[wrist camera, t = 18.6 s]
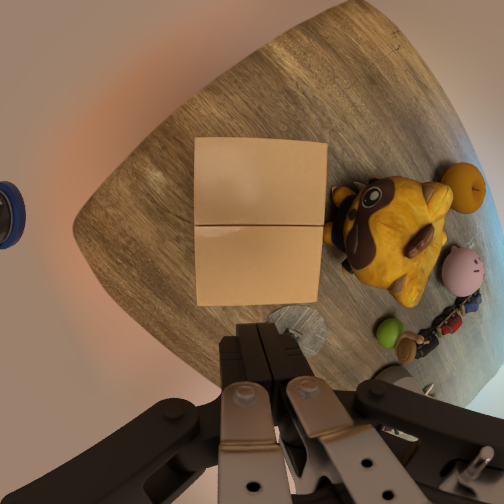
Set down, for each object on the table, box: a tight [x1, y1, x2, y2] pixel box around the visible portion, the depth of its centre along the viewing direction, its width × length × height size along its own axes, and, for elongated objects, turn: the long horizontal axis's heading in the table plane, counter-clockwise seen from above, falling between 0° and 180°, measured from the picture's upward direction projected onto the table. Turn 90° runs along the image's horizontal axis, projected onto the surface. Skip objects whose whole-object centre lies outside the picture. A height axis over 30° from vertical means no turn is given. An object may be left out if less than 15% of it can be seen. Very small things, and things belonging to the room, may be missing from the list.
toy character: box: [323, 176, 453, 308], centre depth 33 cm, size 17×15×18 cm
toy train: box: [414, 288, 481, 359], centre depth 47 cm, size 4×22×5 cm, turn 123°
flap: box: [194, 225, 323, 306], centre depth 29 cm, size 8×13×1 cm, turn 89°
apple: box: [440, 162, 486, 214], centre depth 37 cm, size 9×9×9 cm
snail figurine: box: [376, 318, 429, 364], centre depth 41 cm, size 5×6×12 cm
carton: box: [194, 137, 327, 226], centre depth 33 cm, size 17×13×11 cm
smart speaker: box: [374, 366, 426, 434], centre depth 44 cm, size 10×9×14 cm
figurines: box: [384, 425, 399, 435], centre depth 54 cm, size 10×5×4 cm, turn 49°
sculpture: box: [266, 305, 328, 358], centre depth 45 cm, size 12×9×8 cm
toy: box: [442, 246, 484, 297], centre depth 42 cm, size 9×9×10 cm
